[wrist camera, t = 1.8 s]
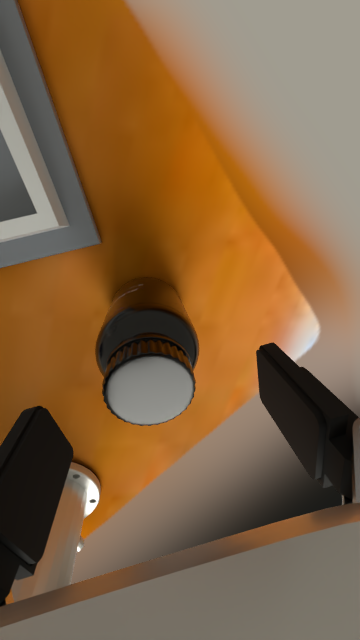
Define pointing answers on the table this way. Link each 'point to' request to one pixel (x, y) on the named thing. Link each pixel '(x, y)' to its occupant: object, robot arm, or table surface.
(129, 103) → the table surface
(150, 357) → the supplement bottle
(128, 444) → the table surface
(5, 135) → the rimmed tray
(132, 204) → the table surface
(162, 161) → the table surface
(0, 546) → the robot arm
